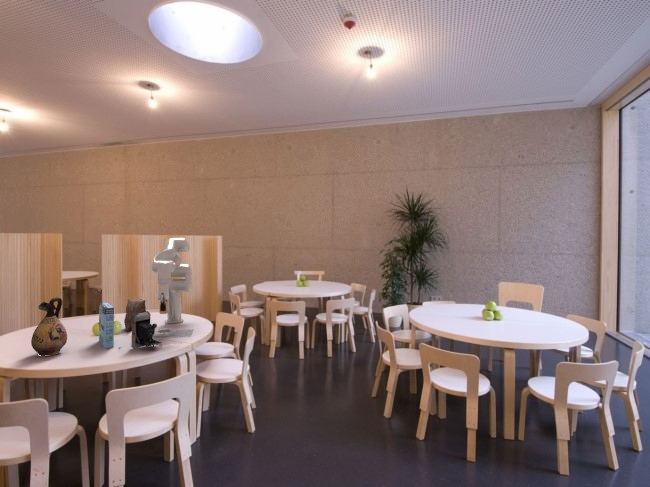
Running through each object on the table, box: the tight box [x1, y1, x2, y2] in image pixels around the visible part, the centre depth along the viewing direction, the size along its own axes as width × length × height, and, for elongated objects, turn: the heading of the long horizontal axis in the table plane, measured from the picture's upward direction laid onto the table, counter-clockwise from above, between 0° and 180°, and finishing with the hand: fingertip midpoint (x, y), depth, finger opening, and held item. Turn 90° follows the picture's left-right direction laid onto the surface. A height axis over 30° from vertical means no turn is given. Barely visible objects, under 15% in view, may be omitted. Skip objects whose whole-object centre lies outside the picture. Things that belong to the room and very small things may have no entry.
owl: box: [124, 298, 147, 333], centre depth 249 cm, size 13×13×20 cm
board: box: [152, 328, 195, 340], centre depth 231 cm, size 18×24×2 cm
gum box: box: [98, 302, 115, 349], centre depth 214 cm, size 20×5×23 cm, turn 39°
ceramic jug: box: [30, 296, 68, 357], centre depth 196 cm, size 17×15×30 cm
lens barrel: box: [153, 328, 177, 337], centre depth 230 cm, size 13×13×2 cm
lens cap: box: [159, 301, 169, 315], centre depth 230 cm, size 7×5×7 cm
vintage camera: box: [131, 310, 162, 351], centre depth 206 cm, size 10×16×20 cm, turn 58°
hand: (164, 309), depth 230 cm, fingers closed on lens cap, 6 cm apart
